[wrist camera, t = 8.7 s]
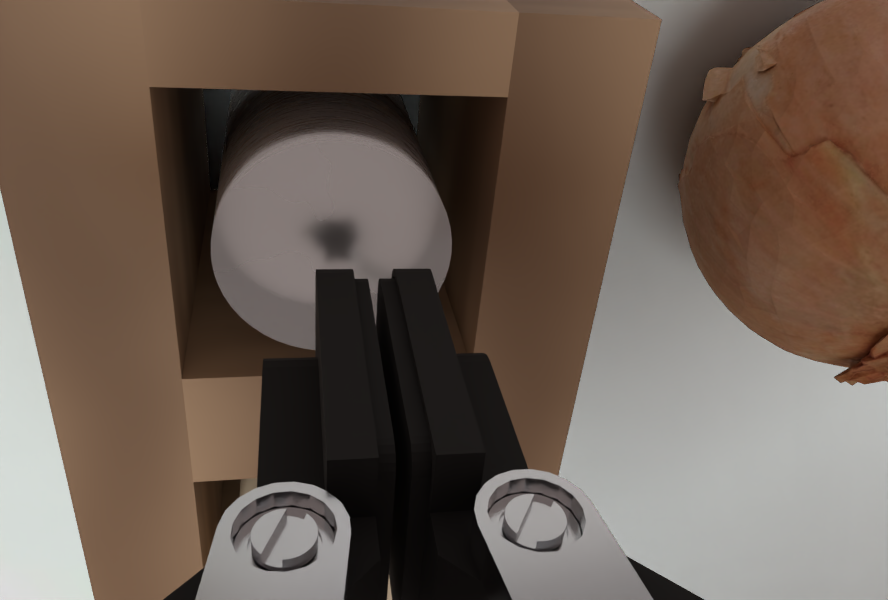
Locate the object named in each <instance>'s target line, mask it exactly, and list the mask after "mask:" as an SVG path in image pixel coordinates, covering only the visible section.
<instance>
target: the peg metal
mask: <svg viewBox="0 0 888 600" xmlns="http://www.w3.org/2000/svg"><path fill="white" fill-rule="evenodd" d="M451 252H452V237H451V228H450V224H449V220H448V216H447V213H446V210H445V208H444V205H443V203H442V200H441V197H440V195H439V192H438V190H437V187H436V185H435V182H434V180H433V177H432V174H431V172H430V169H429V167H428V164H427V162H426V159H425V156H424V154H423V151H422V149H421V146H420V144H419V141H418V139H417V136H416V133H415V131H414V128H413V126H412V123H411V121H410V118H409V116H408V113H407V110H406V108H405V105H404V103H403V100H402V98H401V95H400V94H378V93H343V92H308V91H273V90H238V89H231V95H230V103H229V110H228V118H227V125H226V133H225V140H224V147H223V155H222V162H221V170H220V177H219V185H218V192H217V199H216V207H215V214H214V222H213V229H212V237H211V260H212V267H213V271H214V274H215V278H216V281H217V283H218V286H219V288H220V290H221V292H222V294H223V296H224V297H225V298H226V300H227V301H228V303H229V304H230V306H231V307H232V308H233V309H234V310H235V312H236V313H237V314H238V315H239V316H240V317H241V318H242V319H243V320H245V321H246V322H247V323H248V324H249V325H250V326H252V327H253V328H255V329H256V330H258V331H259V332H261V333H262V334H264V335H266V336H268V337H270V338H272V339H274V340H276V341H279V342H282V343H285V344H288V345H291V346H295V347H299V348H303V349H311V350H315V276H316V269H353V271H354V277H355V279H368V281H369V287H370V293H371V299H372V305H373V312H374V318H375V324H376V315H377V294H378V281H379V279H380V278H391V277H392V271H393V269H431V271H432V274H433V277H434V281H435V284H436V288H437V291H438V292H439V290H440V288H441V286H442V284H443V282H444V280H445V277H446V274H447V271H448V268H449V264H450V259H451Z"/></svg>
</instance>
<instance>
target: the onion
mask: <svg viewBox="0 0 888 600" xmlns="http://www.w3.org/2000/svg"><path fill="white" fill-rule="evenodd" d="M703 100H704V101H707V102H706V104H705V105H704V107H703V109H702V111H701V113H700V115H699V118H698V120H697V123H696V125H695V127H694V130H693V132H692V134H691V136H690V140H689V144H688V147H687V152H686V156H685V160H684V165H683V169H681V173H680V174H679V183H678V189H679V193H680V198H681V207H682V217H683V223H684V226H685V229H686V233H687V236H688V240H689V244H690V248H691V250H692V253H693V255H694V258H695V260H696V263H697V265H698V267H699V269H700V270H701V272H702V274H703V276H704V277H705V279H706V281H707V282H708V284H709V286H710V287H711V288H712V290H713V291H714V293H715V294H716V295H717V296H718V298H719V299H720V300H721V301H722V302H723V303H724V305H725V306H726V307H727V308H728V309H729V310H730V311H731V312H732V313H733V314H734V315H735V316H736V317H737V318H738V319H739V320H740V321H742V322H743V323H744V324H745V325H746V326H747V327H748V328H749V329H751V330H752V331H754V332H755V333H757V334H758V335H760V336H761V337H763V338H764V339H766V340H768V341H769V342H771V343H773V344H774V345H776V346H778V347H780V348H782V349H783V350H785V351H787V352H790V353H793V354H796V355H799V356H802V357H805V358H808V359H811V360H814V361H818V362H823V363H828V364H833V365H838V366H843V367H849V368H848V369H847V370H845V371H843V372H842V373H840V374H838V375H837V376H835V377H834V378H835V379H836V380H838V381H839V382H840V383H842V382H845V381H846V382H848V383H849V384H850V385H854V384H855V383H857V382H860V383H862V384H869V383H875V382H880V381H887V382H888V0H825V1H822V2H819V3H817V4H815V5H813V6H811V7H809V8H807V9H806V10H804V11H802V12H800V13H798V14H796V15H794V17H793V18H791V19H790V20H789V21H787V22H786V23H784V24H782V25H781V26H779V27H778V28H776V29H775V30H774V31H772V32H771V33H770V34H769V35H767V36H766V37H765V38H763V39H762V40H761V41H759V42H758V43H757V44H756V45H754V46H753V47H748V48H744V49H743V51H742V56H741V57H740V58H738V61H737V63H736V64H735V65H734V67H733V68H725V67H715V68H713V69H710V70H709V72H708V74H707V76H706V79H705V83H704V91H703Z"/></svg>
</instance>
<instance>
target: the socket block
mask: <svg viewBox="0 0 888 600" xmlns="http://www.w3.org/2000/svg"><path fill="white" fill-rule="evenodd" d="M661 21H662V19H660V18H658V17H657V16H655V15H654V14H652V13H651V12H649V11H647V10H646V9H644V8H643V7H641V6H640V5H638V4H637V3H635V2H633V1H632V0H0V189H1V194H2V198H3V202H4V207H5V211H6V216H7V220H8V224H9V229H10V233H11V237H12V242H13V246H14V250H15V255H16V259H17V264H18V268H19V272H20V277H21V281H22V285H23V290H24V294H25V298H26V303H27V307H28V312H29V316H30V320H31V325H32V329H33V333H34V338H35V342H36V346H37V351H38V355H39V360H40V364H41V368H42V373H43V377H44V381H45V386H46V390H47V394H48V399H49V403H50V407H51V412H52V416H53V421H54V425H55V429H56V434H57V438H58V442H59V447H60V451H61V455H62V460H63V464H64V469H65V473H66V477H67V482H68V486H69V490H70V495H71V499H72V503H73V508H74V512H75V517H76V521H77V525H78V530H79V534H80V538H81V543H82V547H83V551H84V556H85V560H86V565H87V569H88V573H89V578H90V582H91V586H92V591H93V595H94V599H95V600H163V599H164V598H166V597H167V596H168V595H169V594H171V593H172V592H173V591H175V590H176V589H177V588H178V587H180V586H181V585H182V584H184V583H185V582H186V581H187V580H189V579H190V578H191V577H193V576H194V575H195V574H196V573H198V572H199V571H200V570H201V569H203V568H204V567H205V565H206V562H207V558H208V555H209V552H210V548H211V545H212V542H213V538H214V535H215V532H216V528H217V525H218V524H219V522H220V520H221V518H222V516H223V514H224V512H225V510H226V509H227V508H228V507H229V506H230V505H231V504H232V503H233V502H235V501H236V500H237V499H238V498H239V497H240V482H241V479H251V478H257V473H258V451H259V430H260V409H261V387H262V367H263V359H266V358H305V357H315V350H311V349H303V348H299V347H295V346H291V345H288V344H285V343H282V342H279V341H276V340H274V339H272V338H270V337H268V336H266V335H264V334H262V333H261V332H259V331H258V330H256V329H255V328H253V327H252V326H250V325H249V324H248V323H247V322H246V321H245V320H243V319H242V318H241V317H240V316H239V315H238V314H237V313H236V312H235V310H234V309H233V308H232V307H231V306H230V304H229V303H228V301H227V300H226V298H225V297H224V296H223V294H222V292H221V290H220V288H219V286H218V283H217V281H216V278H215V274H214V271H213V267H212V260H211V237H212V229H213V222H214V214H215V207H216V199H217V192H218V190H211V189H210V176H209V162H208V149H207V136H206V123H205V109H204V96H203V89H238V90H273V91H308V92H343V93H378V94H412V95H420V102H419V116H418V130H417V139H418V141H419V144H420V146H421V149H422V151H423V154H424V156H425V159H426V162H427V164H428V167H429V169H430V172H431V174H432V177H433V180H434V182H435V185H436V187H437V190H438V192H439V195H440V197H441V200H442V203H443V205H444V208H445V210H446V213H447V216H448V220H449V224H450V228H451V237H452V252H451V259H450V264H449V268H448V271H447V274H446V277H445V280H444V282H443V284H442V286H441V288H440V290H439V292H438V294H439V298H440V301H441V304H442V308H443V311H444V314H445V318H446V321H447V324H448V328H449V331H450V334H451V338H452V341H453V344H454V348H455V351H456V354H458V353H485V354H487V356H488V358H489V360H490V362H491V365H492V368H493V370H494V373H495V376H496V379H497V382H498V384H499V387H500V390H501V393H502V396H503V399H504V401H505V404H506V407H507V410H508V413H509V416H510V418H511V421H512V424H513V427H514V430H515V432H516V435H517V438H518V441H519V444H520V447H521V449H522V452H523V455H524V458H525V461H526V463H527V466H528V469H533V470H539V471H544V472H550V473H552V474H555V475H557V476H558V474H559V470H560V465H561V461H562V456H563V452H564V448H565V443H566V439H567V434H568V430H569V426H570V421H571V417H572V412H573V408H574V404H575V399H576V395H577V390H578V386H579V382H580V377H581V373H582V368H583V364H584V360H585V355H586V351H587V346H588V342H589V338H590V333H591V329H592V324H593V320H594V316H595V311H596V307H597V302H598V298H599V294H600V289H601V285H602V280H603V276H604V272H605V267H606V263H607V258H608V254H609V250H610V245H611V241H612V236H613V232H614V228H615V223H616V219H617V214H618V210H619V206H620V201H621V197H622V192H623V188H624V184H625V179H626V175H627V170H628V166H629V162H630V157H631V153H632V148H633V144H634V140H635V135H636V131H637V126H638V122H639V118H640V113H641V109H642V104H643V100H644V96H645V91H646V87H647V82H648V78H649V74H650V69H651V65H652V61H653V56H654V52H655V47H656V43H657V39H658V34H659V30H660V25H661Z"/></svg>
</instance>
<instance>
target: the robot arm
mask: <svg viewBox="0 0 888 600" xmlns="http://www.w3.org/2000/svg"><path fill="white" fill-rule="evenodd" d="M388 579H390V587H391V595H392V600H704V599H702V598H700V597H699V596H697V595H695V594H693V593H691V592H690V591H688V590H686V589H684V588H682V587H681V586H679V585H677V584H675V583H674V582H672V581H670V580H668V579H666V578H665V577H663V576H661V575H659V574H657V573H656V572H654V571H652V570H650V569H648V568H647V567H645V566H643V565H641V564H639V563H638V562H636V561H634V560H632V559H631V558H629V557H627V556H626V555H625V554H624V552H623V550H622V549H621V547H620V546H619V544H618V542H617V541H616V539H615V538H614V536H613V535H612V533H611V531H610V530H609V528H608V527H607V525H606V523H605V522H604V520H603V519H602V517H601V515H600V514H599V512H598V511H597V509H596V507H595V506H594V504H593V503H592V502H591V500H590V499H589V498H588V497H587V496H586V495H585V493H584V492H583V491H582V490H581V489H580V488H578V487H577V486H575V485H574V484H572V483H571V482H570V481H568V480H567V479H564V478H562V477H559V476H557V475H555V474H552V473H550V472H544V471H539V470H533V469H528V466H527V463H526V461H525V458H524V455H523V452H522V449H521V447H520V444H519V441H518V438H517V435H516V432H515V430H514V427H513V424H512V421H511V418H510V416H509V413H508V410H507V407H506V404H505V401H504V399H503V396H502V393H501V390H500V387H499V384H498V382H497V379H496V376H495V373H494V370H493V368H492V365H491V362H490V360H489V358H488V356H487V354H485V353H458V354H456V351H455V348H454V344H453V341H452V338H451V334H450V331H449V328H448V324H447V321H446V318H445V314H444V311H443V308H442V304H441V301H440V298H439V294H438V291H437V288H436V284H435V281H434V277H433V274H432V271H431V269H393V271H392V277H391V278H380V279H379V281H378V294H377V315H376V324H375V318H374V312H373V305H372V299H371V293H370V287H369V281H368V279H355V277H354V271H353V269H316V276H315V357H305V358H266V359H263V367H262V387H261V409H260V430H259V451H258V473H257V488H255V489H253V490H251V491H250V492H248V493H246V494H244V495H242V496H241V497H239V498H238V499H237V500H236V501H235V502H233V503H232V504H231V505H230V506H229V507H228V508H227V509H226V510H225V512H224V514H223V516H222V518H221V520H220V522H219V524H218V525H217V528H216V532H215V535H214V538H213V542H212V545H211V548H210V552H209V555H208V558H207V562H206V565H205V567H204V568H203V569H201V570H200V571H199V572H198V573H196V574H195V575H194V576H193V577H191V578H190V579H189V580H187V581H186V582H185V583H184V584H182V585H181V586H180V587H178V588H177V589H176V590H175V591H173V592H172V593H171V594H169V595H168V596H167V597H166V598H164V599H163V600H387V592H388Z"/></svg>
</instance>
